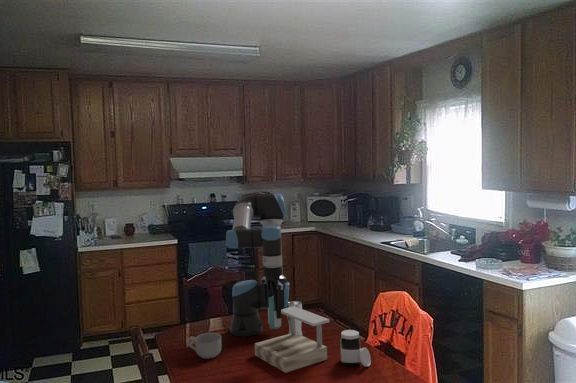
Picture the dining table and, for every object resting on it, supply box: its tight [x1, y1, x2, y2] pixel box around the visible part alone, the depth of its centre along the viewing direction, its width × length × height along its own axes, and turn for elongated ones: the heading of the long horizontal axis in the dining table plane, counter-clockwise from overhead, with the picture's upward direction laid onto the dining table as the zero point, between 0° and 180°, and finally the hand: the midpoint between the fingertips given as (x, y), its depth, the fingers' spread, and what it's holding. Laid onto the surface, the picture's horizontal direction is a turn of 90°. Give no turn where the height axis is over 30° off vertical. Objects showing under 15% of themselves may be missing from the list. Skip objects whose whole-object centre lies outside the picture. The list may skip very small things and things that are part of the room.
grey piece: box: [281, 306, 330, 348], centre depth 203 cm, size 24×8×11 cm, turn 35°
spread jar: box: [339, 329, 372, 368], centre depth 191 cm, size 12×11×12 cm
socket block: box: [254, 333, 328, 373], centre depth 199 cm, size 22×20×5 cm
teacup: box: [187, 332, 222, 360], centre depth 204 cm, size 14×11×8 cm
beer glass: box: [286, 300, 303, 336], centre depth 224 cm, size 7×7×15 cm
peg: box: [269, 296, 281, 330], centre depth 195 cm, size 4×4×12 cm
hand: (274, 324), depth 195 cm, fingers closed on peg, 4 cm apart
